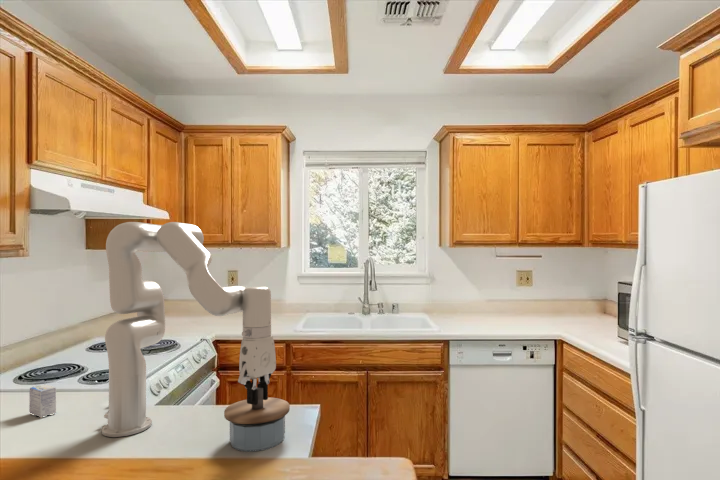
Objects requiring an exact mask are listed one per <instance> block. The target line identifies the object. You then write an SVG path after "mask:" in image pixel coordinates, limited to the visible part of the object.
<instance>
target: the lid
mask: <svg viewBox="0 0 720 480" xmlns="http://www.w3.org/2000/svg"><path fill="white" fill-rule="evenodd" d="M256 389H258V404H256V405H253V404H248V403H247V398H246V399H243V400H240V401H237V402H234V403H231V404H229V405H228V406H227V407H225V409H224V410H223V412H224V413H223V414H224V419H225V420H226V421H228V422H229V423H230V422H233V423H238V424H258V423H265V422H270V421H273V420H277V419H279V418H281V417H283V416H285V417H286V416H287V415H288V413H290V403H289V402H288V401H287V400H284V399H281V398H278V397H269V396H268V399H267V400H263V388H262V387H257V386H256Z"/></svg>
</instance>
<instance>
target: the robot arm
mask: <svg viewBox="0 0 720 480" xmlns="http://www.w3.org/2000/svg"><path fill="white" fill-rule="evenodd" d="M204 239H205V238H204V233H203V231H202V230H201V229H200V228H199V226H197V225H195V224H191V223H187V222H186V223H185V222H178V221H170V222H165V223H164V224H156V223H154V224H153V223H148V222H147V223H146V222H141V221H139V222H138V221H127V222H123V223H120V224H117V225H116V226H114V227H113V228H112V230H110V232H109V233H108V235H107V238H106V241H105V242H106V243H105V252H106V257H107V264H108V280H109V281H108V283H109V287H108V289H109V302H110V308H111V310H112V311H113V312H114V313H117V314H119V315H129V314H134V313H136V314H137V316H133V317H127V318H122V319H120V320H117V321H115V322H113V323H112V324H110V326H109V327H108V328H107V329H106V332H105V334H104V343H105V348H106V352H107V359H108V413H105V414H103V418H104V419H106V420H107V423H106V424H105V425H104V426H103V427H102V428H101V434H102V435H103V436H105V437H107V438H119V437H120V438H121V437H127V436H131V435H135V434H138V433H141V432H143V431H146V430H147V429H149V428H150V427H151V426H152V423H153V419H152V418H150V417H148V416H147V364H146V359H145V357H144V354H143V353H142V352H143V351H142V349H144V348H146V347H151V346H155V345H156V344H158V343H159V342H160V341H161V340H162V339H163V337H164V336H165V332H166V309H165V308H166V307H165V296H164V295H165V294H164V292H163V289H162V287H161V286H160V285H159V284H158V283H157V282H155V281H154V280H147V279H146V280H145V279H143V267H142V263H141V261H140V259H139V257H138V255H137V254H136V253H137V252H154V253H155V252H156V253H157V252H159V253H162V252H164V253H165V252H166V254H168V256H169V257H170V258H171V259H172V260H173V261H174V262H175V263H176V264H177V265H178V266H179V268H180V269H181V270H182V272H184V274H185V275H186V282H187V286H188V290H189V292H190V294H191V295H192V297H193V299H195V300H196V301H197V302H198V303H199V305H200V307H202V308H203V309H204V310H205V311H206V312H208V313H209V314H211V315H212V316H215V317H223V316H227V315H228V316H229V315H233V314H237V313H241V312H242V332H241V336H242V339H241V343H240V348H239V349H240V350H239V360H238V361H239V365H238V366H239V368H238V369H239V376H238V380H237V383H239V384H241V385H243V386H244V388H245V389H246V399H247V403H248V404H253V405H256V404H258V389H256V387H262V388H263V400H267V399H268V397H269V396H268V395H269V390H268V389H269V388H268V387H269V384H270V379H271V377H272V375H273V374H274V372H275V371H276V369H277V357H276V355H277V354H276V346H275V339H274V336H273V334H272V292H271V289H270V288H269V287H267V286H250V287H249V286H243V285H231V286H221V285H220V284H219V282H217V281H216V279H215V278H214V277H213V276H212V274H211V273H210V272H209V269H208V268H209V266H210V265H211V263H212V261H213V257H212V256H213V255H212V253H211V252H209V250H207V248H205V247H204V245H203V244H204V241H205V240H204ZM257 379H258V383H257Z"/></svg>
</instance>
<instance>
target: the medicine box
mask: <svg viewBox="0 0 720 480" xmlns="http://www.w3.org/2000/svg"><path fill="white" fill-rule="evenodd" d="M28 407H29V408H28V409H29V412H30V413H32V414H34V415H37V416H39V417H43V416H47V415H50V414H53V413H56V414H57V387H55V386H53V385H48V384H40V385H36V386H32V387H30V388H29V406H28ZM39 417H38V418H39Z"/></svg>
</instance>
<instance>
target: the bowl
mask: <svg viewBox="0 0 720 480" xmlns="http://www.w3.org/2000/svg"><path fill="white" fill-rule="evenodd" d="M285 435H286V415H285V416H283V417H281V418H279V419H277V420H273V421H270V422H265V423H258V424H238V423H233V422H230V421H229V441H230V446H231V447H232V448H234V449H235V450H237V451H240V452H241V451H242V452H260V451H265V450H268V449H273V448H274V447H276V446H277V447H278V446H279V445H280V444H282V443H283V441H284V440H285Z"/></svg>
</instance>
